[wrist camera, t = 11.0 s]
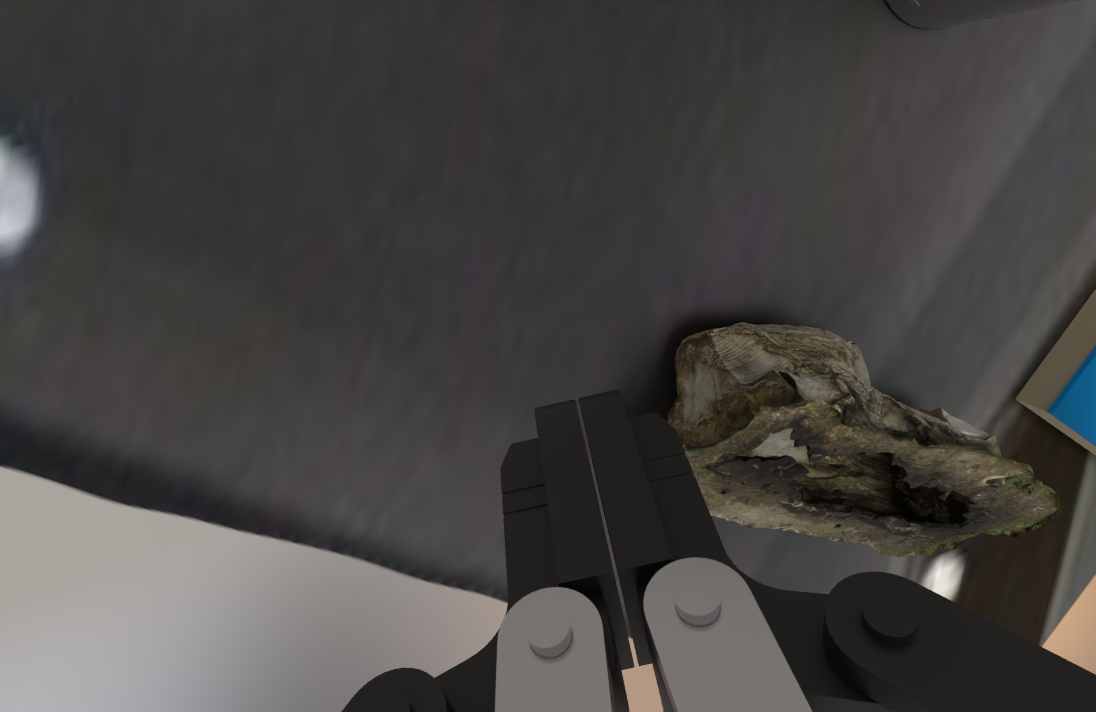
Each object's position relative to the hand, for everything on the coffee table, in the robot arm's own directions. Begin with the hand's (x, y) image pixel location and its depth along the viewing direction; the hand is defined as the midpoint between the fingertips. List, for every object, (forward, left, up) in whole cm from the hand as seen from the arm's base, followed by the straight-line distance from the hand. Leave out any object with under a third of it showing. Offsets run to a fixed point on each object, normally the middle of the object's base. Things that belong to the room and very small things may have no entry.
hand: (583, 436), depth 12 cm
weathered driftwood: (-17, +26, -31) cm, 43 cm away
